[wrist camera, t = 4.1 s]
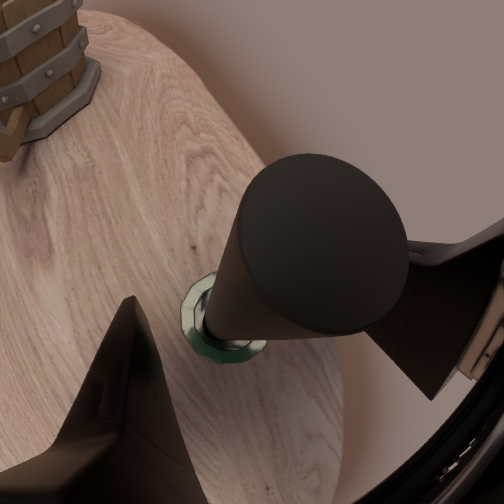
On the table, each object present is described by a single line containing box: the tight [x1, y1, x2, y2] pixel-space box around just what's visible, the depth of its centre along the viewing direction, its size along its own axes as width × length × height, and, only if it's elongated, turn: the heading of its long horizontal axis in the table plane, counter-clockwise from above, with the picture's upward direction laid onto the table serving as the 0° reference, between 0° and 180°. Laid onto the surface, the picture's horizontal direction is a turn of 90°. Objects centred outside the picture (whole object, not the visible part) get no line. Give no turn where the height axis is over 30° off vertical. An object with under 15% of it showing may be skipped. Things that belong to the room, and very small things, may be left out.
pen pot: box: [180, 272, 268, 365], centre depth 14 cm, size 4×4×5 cm
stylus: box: [203, 153, 409, 341], centre depth 9 cm, size 2×2×14 cm
